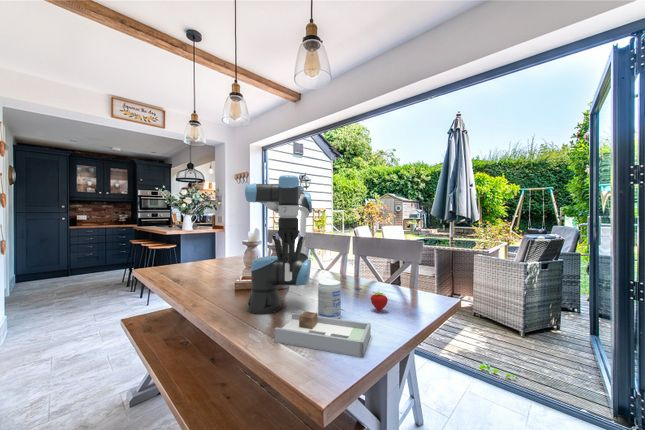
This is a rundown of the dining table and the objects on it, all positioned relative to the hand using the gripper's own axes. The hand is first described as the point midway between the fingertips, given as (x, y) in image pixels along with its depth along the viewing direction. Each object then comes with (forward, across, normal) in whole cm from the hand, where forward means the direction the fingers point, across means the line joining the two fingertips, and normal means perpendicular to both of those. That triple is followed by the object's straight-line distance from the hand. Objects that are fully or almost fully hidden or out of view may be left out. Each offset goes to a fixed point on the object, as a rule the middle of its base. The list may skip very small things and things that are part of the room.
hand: (288, 280), depth 101 cm
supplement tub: (+19, +11, +16) cm, 27 cm away
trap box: (+18, +15, -3) cm, 24 cm away
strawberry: (+19, +30, +30) cm, 46 cm away
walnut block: (+16, +8, 0) cm, 18 cm away
